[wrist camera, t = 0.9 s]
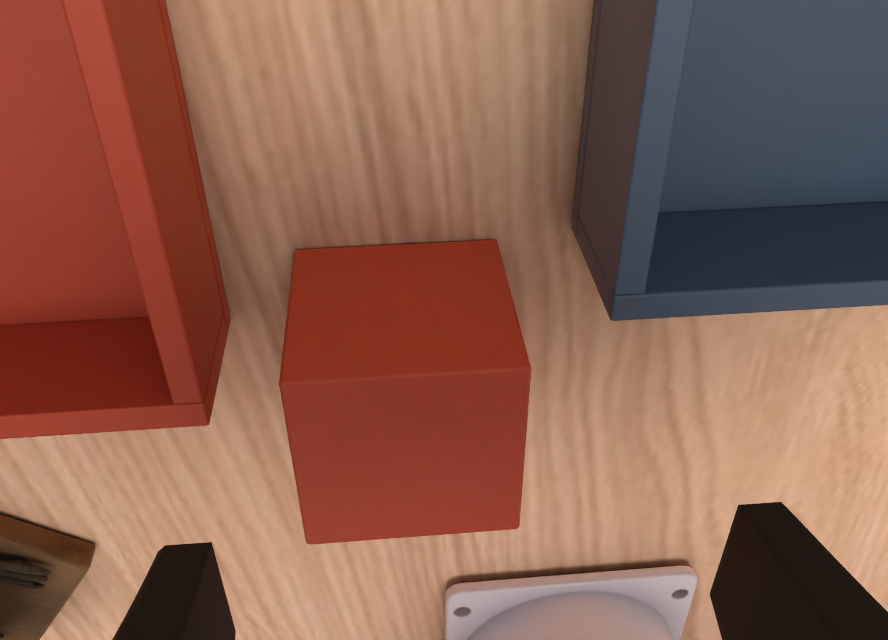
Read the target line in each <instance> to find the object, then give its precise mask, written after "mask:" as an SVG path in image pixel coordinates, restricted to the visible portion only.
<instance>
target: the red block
mask: <svg viewBox="0 0 888 640" xmlns="http://www.w3.org/2000/svg"><path fill="white" fill-rule="evenodd" d="M530 378H531V366H530V362H529V358H528V355H527V351H526V347H525V343H524V340H523V336H522V332H521V329H520V325H519V321H518V317H517V314H516V310H515V306H514V302H513V299H512V295H511V291H510V288H509V284H508V280H507V276H506V273H505V269H504V265H503V262H502V258H501V254H500V250H499V247H498V243H497V241H496V240H477V241H458V242H438V243H419V244H399V245H380V246H360V247H341V248H321V249H302V250H295V252H294V256H293V265H292V274H291V283H290V292H289V301H288V310H287V319H286V328H285V337H284V346H283V355H282V364H281V373H280V381H279V386H280V392H281V398H282V404H283V410H284V415H285V421H286V427H287V433H288V439H289V445H290V451H291V457H292V463H293V469H294V474H295V480H296V486H297V492H298V498H299V504H300V510H301V516H302V522H303V528H304V533H305V539H306V542H307V544H322V543H336V542H349V541H362V540H376V539H389V538H402V537H415V536H429V535H442V534H455V533H469V532H482V531H495V530H509V529H517V528H518V527H519V523H520V510H521V496H522V483H523V470H524V457H525V444H526V431H527V418H528V404H529V391H530Z"/></svg>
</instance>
